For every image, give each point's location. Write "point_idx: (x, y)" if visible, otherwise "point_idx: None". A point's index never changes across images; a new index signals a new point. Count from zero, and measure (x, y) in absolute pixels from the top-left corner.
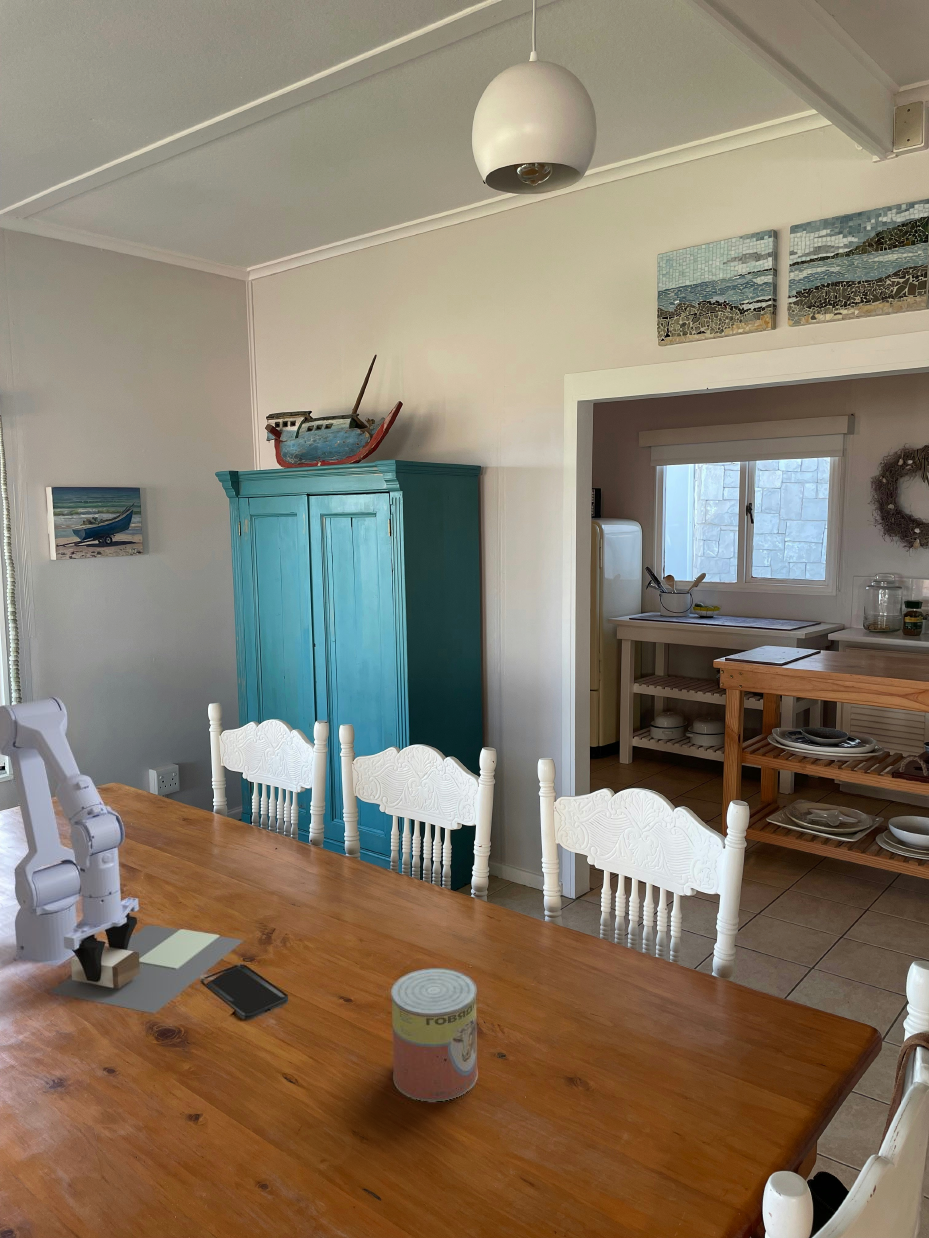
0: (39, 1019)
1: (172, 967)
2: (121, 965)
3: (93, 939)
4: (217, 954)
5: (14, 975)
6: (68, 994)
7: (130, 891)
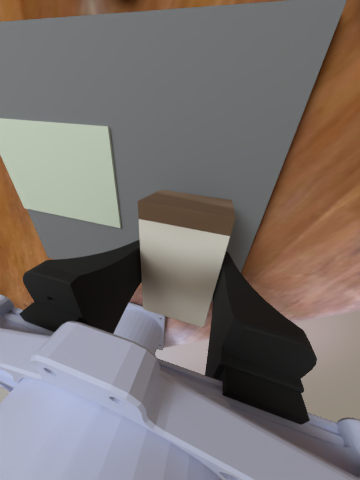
0: (300, 291)
1: (109, 140)
2: (216, 213)
3: (240, 370)
4: (20, 56)
5: (188, 340)
6: None
7: (27, 298)
